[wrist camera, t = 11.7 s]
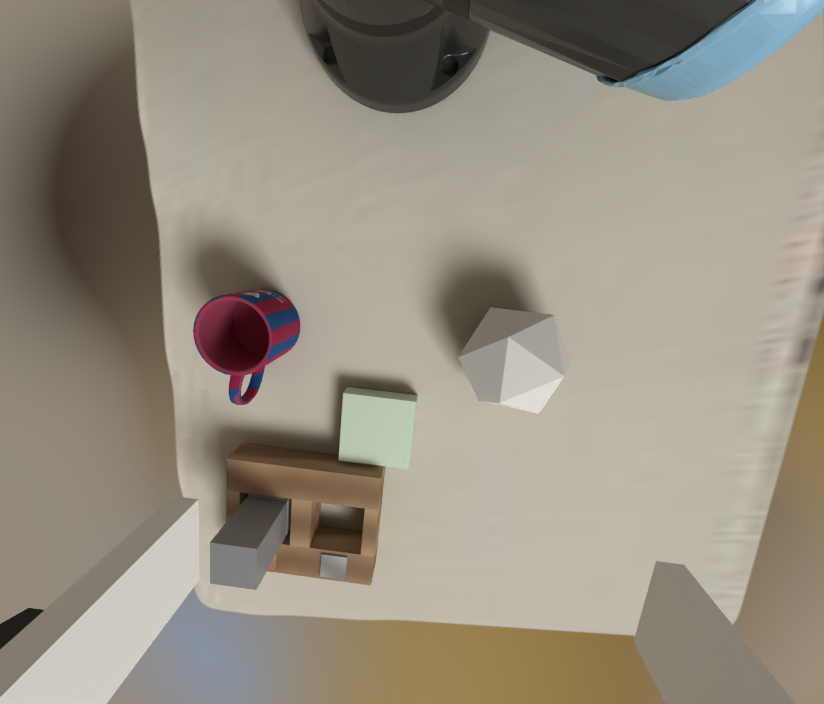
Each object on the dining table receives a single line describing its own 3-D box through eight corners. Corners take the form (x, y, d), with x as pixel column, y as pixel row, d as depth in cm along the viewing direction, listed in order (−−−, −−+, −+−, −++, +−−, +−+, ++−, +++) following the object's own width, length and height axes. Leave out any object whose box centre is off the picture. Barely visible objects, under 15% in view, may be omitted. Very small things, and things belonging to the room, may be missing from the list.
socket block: (243, 443, 43) (225, 459, 40) (385, 461, 43) (380, 479, 39) (242, 542, 46) (225, 566, 42) (375, 560, 45) (370, 586, 42)
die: (476, 405, 41) (560, 447, 33) (422, 360, 36) (506, 395, 28) (520, 336, 43) (611, 360, 35) (473, 282, 37) (568, 296, 29)
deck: (347, 386, 41) (343, 393, 39) (417, 395, 41) (416, 401, 39) (342, 451, 43) (338, 460, 41) (410, 459, 42) (408, 469, 40)
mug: (306, 299, 39) (279, 307, 33) (287, 395, 42) (259, 420, 35) (239, 281, 39) (198, 285, 33) (223, 378, 42) (183, 400, 35)
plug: (260, 480, 44) (210, 542, 34) (297, 484, 44) (257, 549, 34) (259, 513, 45) (210, 583, 35) (295, 518, 45) (256, 589, 35)
